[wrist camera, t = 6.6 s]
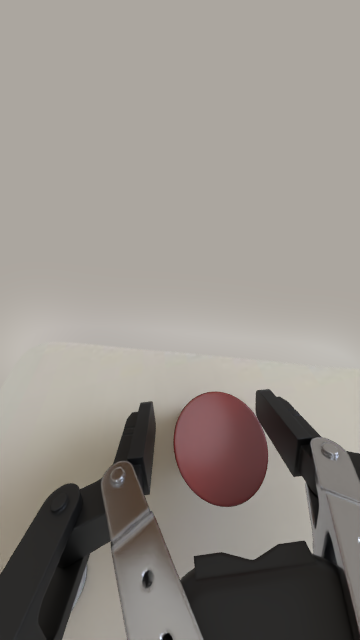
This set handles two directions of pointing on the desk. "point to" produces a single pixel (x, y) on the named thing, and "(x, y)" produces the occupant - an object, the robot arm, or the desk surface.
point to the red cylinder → (220, 449)
